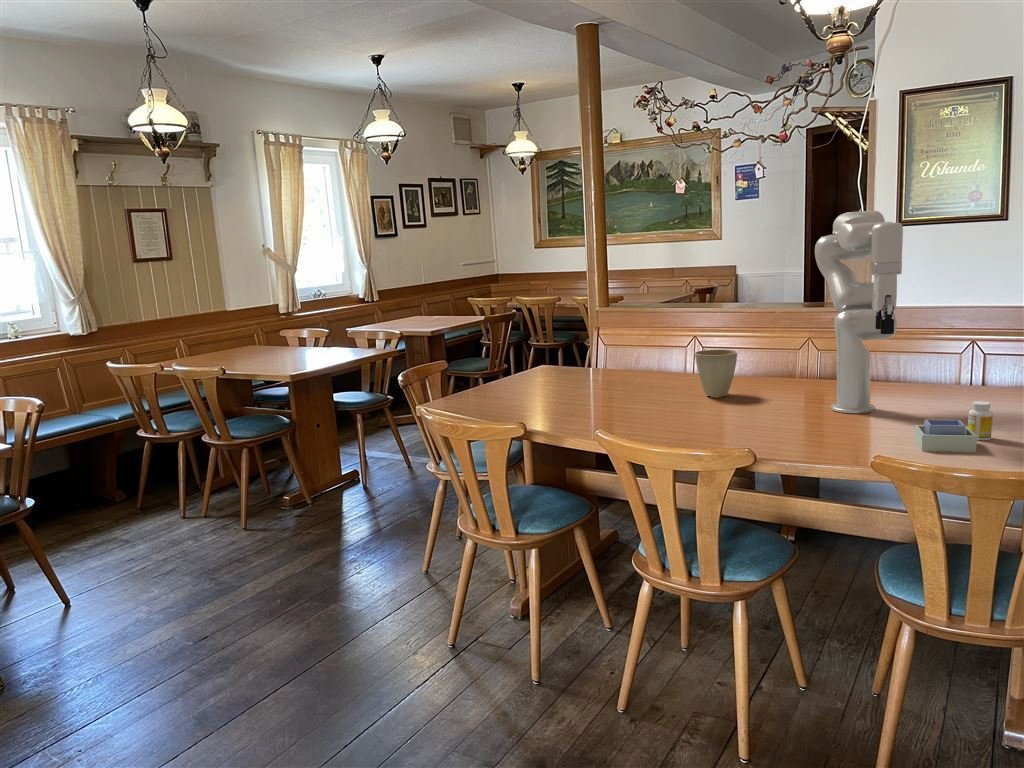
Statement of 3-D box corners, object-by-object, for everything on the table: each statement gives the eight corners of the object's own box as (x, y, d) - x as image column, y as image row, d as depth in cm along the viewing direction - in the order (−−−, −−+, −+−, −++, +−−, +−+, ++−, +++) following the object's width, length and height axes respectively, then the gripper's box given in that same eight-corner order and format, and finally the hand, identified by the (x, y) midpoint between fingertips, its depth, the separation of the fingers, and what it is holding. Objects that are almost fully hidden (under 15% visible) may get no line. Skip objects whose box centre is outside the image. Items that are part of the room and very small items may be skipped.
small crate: (923, 441, 195) (924, 419, 194) (958, 442, 192) (959, 419, 191) (928, 448, 189) (929, 425, 188) (964, 448, 187) (965, 425, 185)
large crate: (914, 441, 197) (914, 425, 197) (965, 442, 194) (966, 426, 193) (921, 452, 188) (922, 435, 187) (975, 453, 184) (976, 436, 183)
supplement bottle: (965, 439, 195) (966, 403, 194) (969, 434, 199) (971, 399, 197) (988, 441, 192) (990, 405, 190) (993, 437, 195) (995, 401, 194)
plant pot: (743, 398, 260) (742, 353, 258) (700, 401, 261) (699, 356, 258) (731, 390, 275) (731, 347, 272) (691, 392, 276) (690, 350, 273)
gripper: (866, 267, 210) (865, 327, 214) (875, 271, 194) (873, 336, 198) (896, 266, 208) (894, 326, 211) (907, 270, 192) (905, 335, 195)
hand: (884, 331), depth 204 cm, fingers open, 9 cm apart
